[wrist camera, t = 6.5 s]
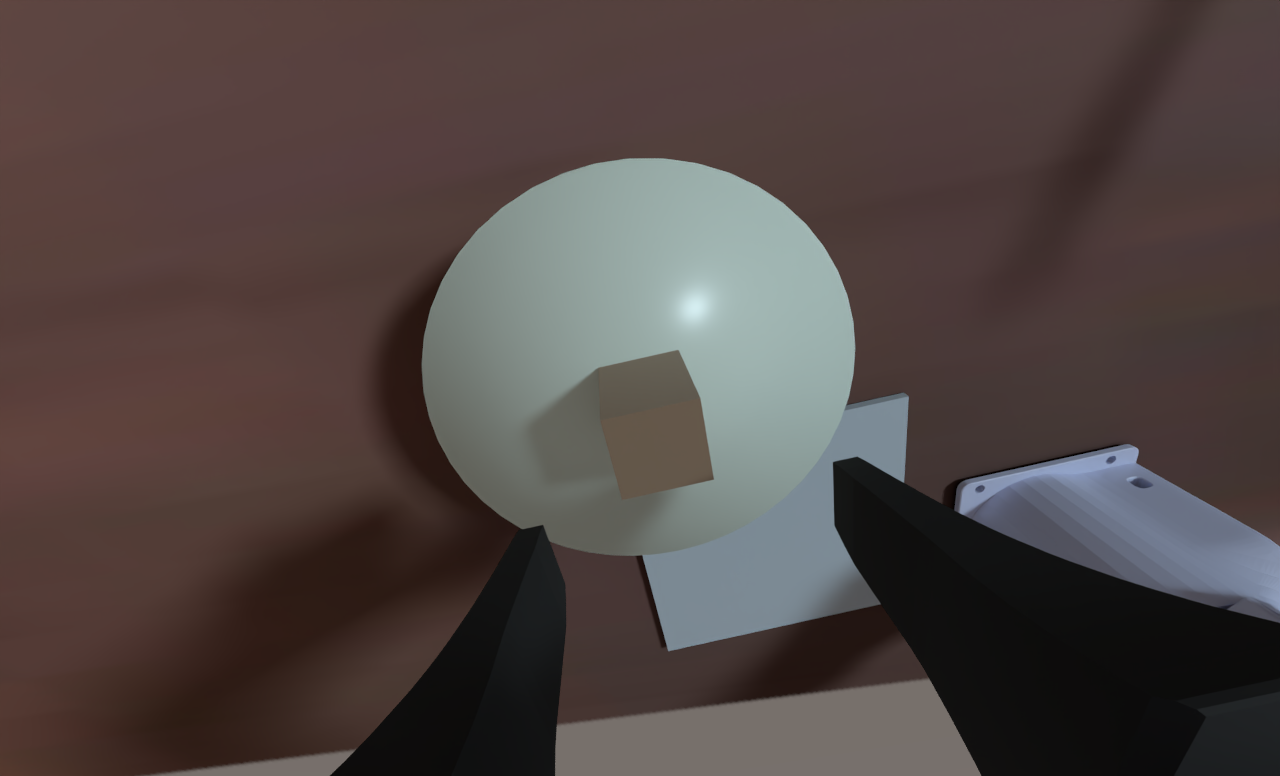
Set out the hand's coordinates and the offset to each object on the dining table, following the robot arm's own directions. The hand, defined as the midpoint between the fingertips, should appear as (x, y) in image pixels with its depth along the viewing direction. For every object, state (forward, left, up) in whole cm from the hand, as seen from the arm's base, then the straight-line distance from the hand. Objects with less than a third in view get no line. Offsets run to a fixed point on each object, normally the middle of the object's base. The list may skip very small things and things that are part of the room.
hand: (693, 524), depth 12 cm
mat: (-5, +11, -10) cm, 16 cm away
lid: (0, -1, -6) cm, 6 cm away
